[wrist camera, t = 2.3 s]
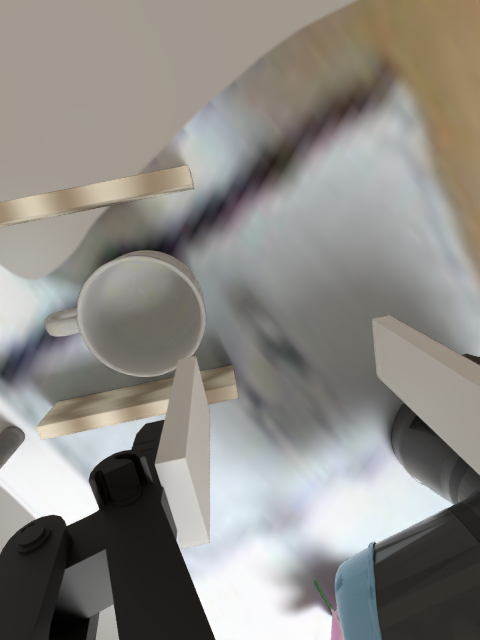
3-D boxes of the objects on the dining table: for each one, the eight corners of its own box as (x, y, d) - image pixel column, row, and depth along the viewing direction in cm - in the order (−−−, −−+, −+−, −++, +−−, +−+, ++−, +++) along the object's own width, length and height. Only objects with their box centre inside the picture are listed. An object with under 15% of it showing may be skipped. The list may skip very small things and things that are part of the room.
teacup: (209, 251, 36) (209, 261, 29) (203, 350, 39) (201, 382, 32) (68, 239, 35) (28, 246, 27) (72, 343, 38) (37, 375, 30)
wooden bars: (184, 141, 33) (173, 111, 24) (239, 397, 41) (248, 452, 32) (-106, 198, 33) (-237, 191, 23) (7, 446, 41) (-56, 517, 31)
